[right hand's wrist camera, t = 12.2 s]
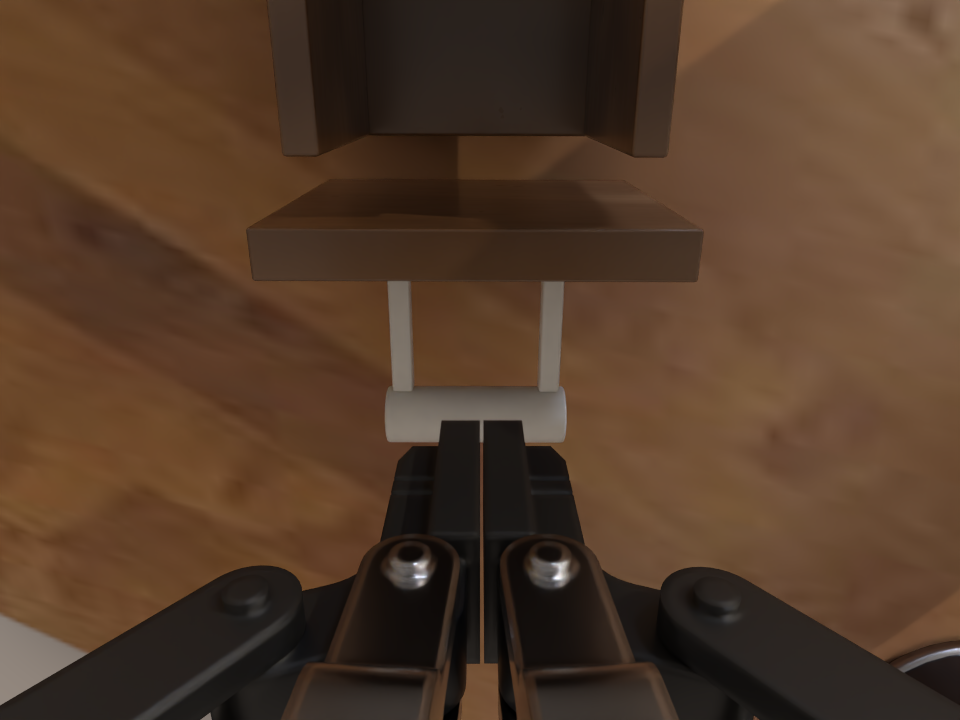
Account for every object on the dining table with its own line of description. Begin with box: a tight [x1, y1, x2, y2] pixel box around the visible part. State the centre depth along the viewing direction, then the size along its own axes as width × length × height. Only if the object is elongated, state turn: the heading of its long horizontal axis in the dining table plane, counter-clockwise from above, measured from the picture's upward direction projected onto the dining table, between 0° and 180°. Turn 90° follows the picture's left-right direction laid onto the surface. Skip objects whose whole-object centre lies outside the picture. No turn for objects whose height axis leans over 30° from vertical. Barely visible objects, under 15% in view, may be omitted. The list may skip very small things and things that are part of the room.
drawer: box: [246, 0, 704, 443], centre depth 17 cm, size 24×10×9 cm, turn 0°
